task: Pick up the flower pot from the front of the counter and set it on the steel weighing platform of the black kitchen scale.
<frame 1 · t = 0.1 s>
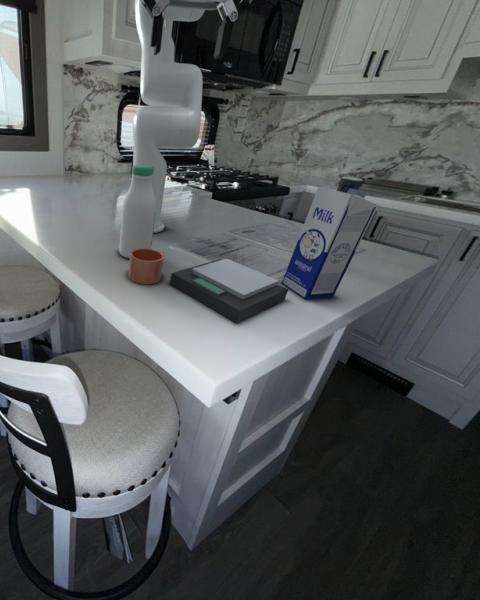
hand: (187, 55, 47), 37 cm above the worktop, tool pointing down, fingers open, 9 cm apart
milk carton: (306, 290, 63), on the worktop
flower pot: (144, 276, 64), on the worktop
milk bottle: (134, 254, 75), on the worktop
sauce bottle: (313, 262, 77), on the worktop
kitchen scale: (225, 292, 60), on the worktop
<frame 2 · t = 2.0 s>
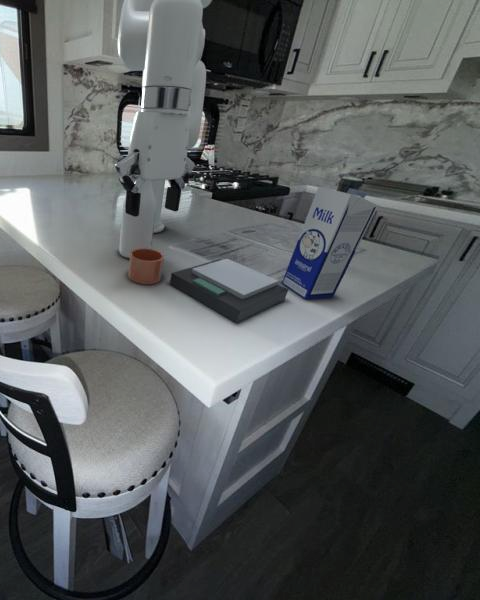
hand: (152, 212, 57), 14 cm above the worktop, tool pointing down, fingers open, 9 cm apart
nothing on the worktop moved.
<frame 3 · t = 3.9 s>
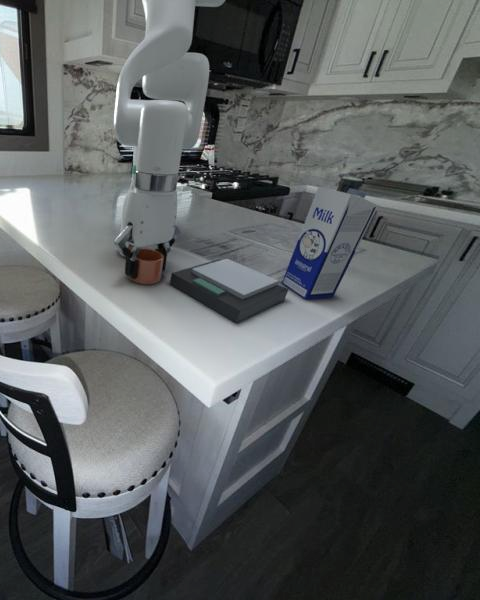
hand: (145, 271, 64), 1 cm above the worktop, tool pointing down, fingers closed on flower pot, 6 cm apart
flower pot: (144, 276, 64), on the worktop, touching gripper
everything else where it was.
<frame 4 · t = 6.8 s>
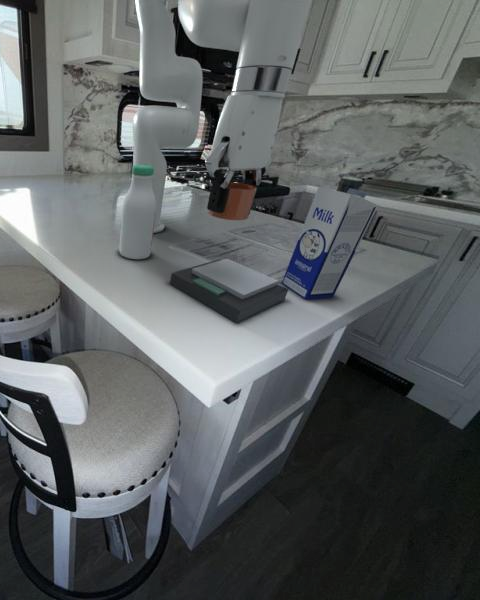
hand: (229, 208, 54), 16 cm above the worktop, tool pointing down, fingers closed on flower pot, 6 cm apart
flower pot: (227, 214, 54), point 15 cm above the worktop, touching gripper
everything else where it was.
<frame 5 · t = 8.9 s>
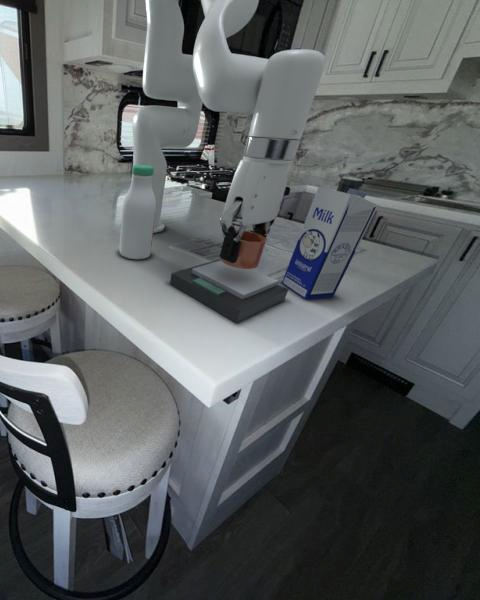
hand: (240, 255, 57), 7 cm above the worktop, tool pointing down, fingers closed on flower pot, 6 cm apart
flower pot: (239, 261, 58), point 6 cm above the worktop, touching gripper
everything else where it was.
when the fingers open (5 cm above the worktop, at t = 10.2 s): flower pot stays where it is, resting on kitchen scale.
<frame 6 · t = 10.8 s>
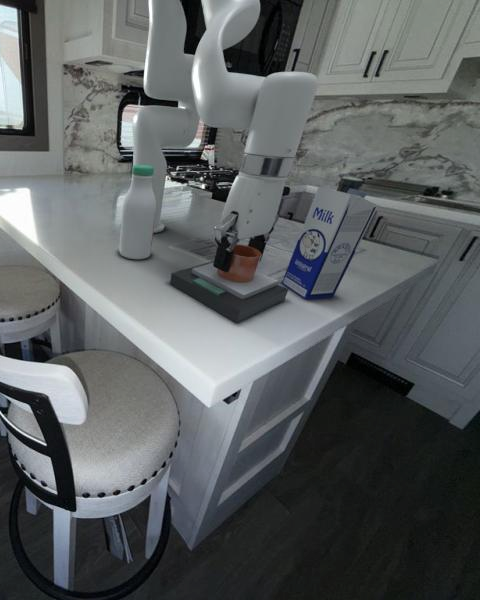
hand: (237, 264, 58), 6 cm above the worktop, tool pointing down, fingers open, 9 cm apart
flower pot: (234, 274, 59), point 3 cm above the worktop, touching kitchen scale
everything else where it was.
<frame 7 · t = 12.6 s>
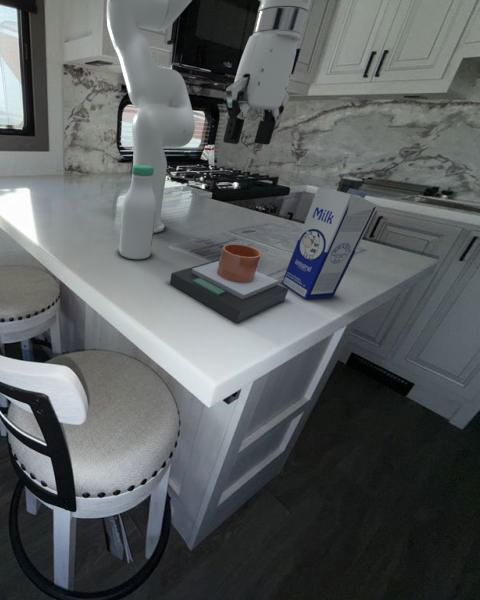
hand: (246, 143, 60), 25 cm above the worktop, tool pointing down, fingers open, 9 cm apart
nothing on the worktop moved.
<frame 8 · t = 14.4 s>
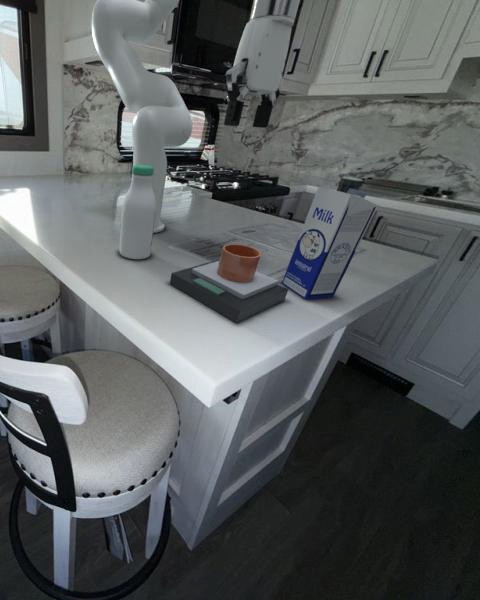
hand: (245, 126, 63), 28 cm above the worktop, tool pointing down, fingers open, 9 cm apart
nothing on the worktop moved.
at the end: flower pot inside the target area on the kitchen scale (0.1 cm from its centre), point 3.5 cm above the kitchen scale's base; flower pot tilted 0°; the gripper is holding nothing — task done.
